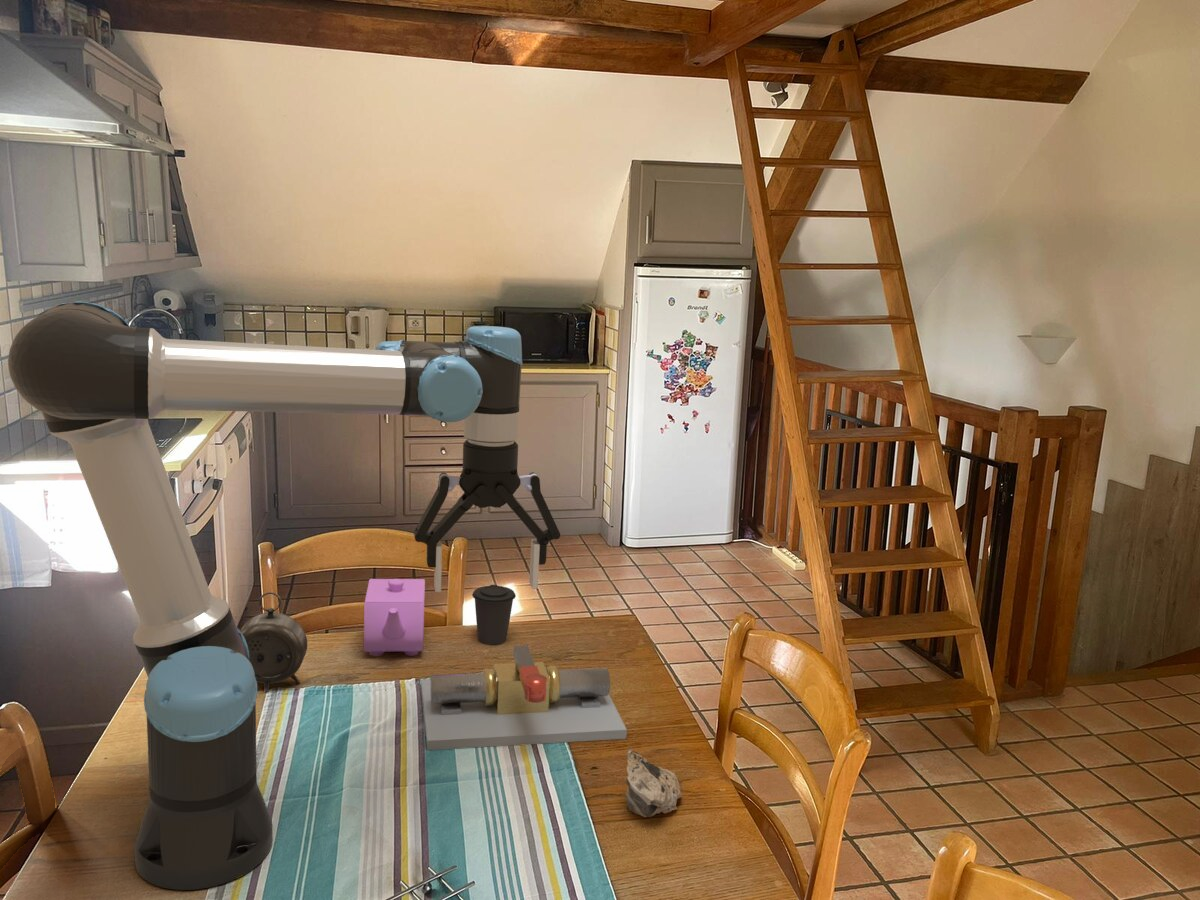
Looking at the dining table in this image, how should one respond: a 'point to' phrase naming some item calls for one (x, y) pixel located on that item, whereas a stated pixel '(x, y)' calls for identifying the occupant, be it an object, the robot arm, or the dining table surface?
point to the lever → (529, 675)
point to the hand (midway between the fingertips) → (486, 587)
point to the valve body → (517, 688)
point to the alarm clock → (274, 645)
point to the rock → (650, 787)
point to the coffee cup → (493, 613)
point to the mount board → (519, 724)
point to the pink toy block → (394, 616)
